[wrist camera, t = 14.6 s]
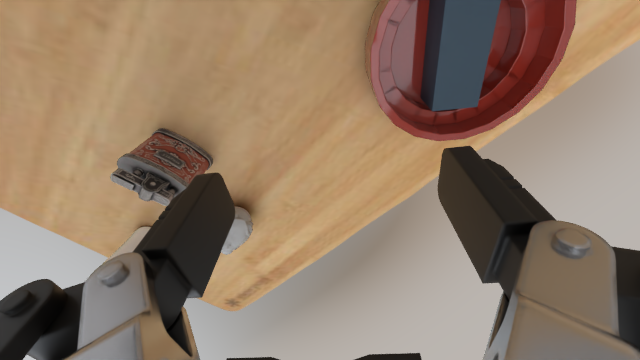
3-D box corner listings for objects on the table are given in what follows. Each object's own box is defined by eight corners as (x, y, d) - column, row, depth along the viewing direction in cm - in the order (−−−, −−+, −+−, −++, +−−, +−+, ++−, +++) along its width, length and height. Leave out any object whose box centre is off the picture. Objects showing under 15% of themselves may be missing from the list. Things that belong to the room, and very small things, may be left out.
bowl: (362, -44, 24) (369, -54, 19) (561, -76, 22) (619, -95, 18) (366, 126, 33) (371, 147, 29) (506, 113, 32) (535, 132, 27)
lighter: (216, 156, 37) (183, 202, 28) (207, 172, 38) (172, 220, 30) (159, 122, 34) (104, 162, 26) (151, 141, 36) (97, 184, 28)
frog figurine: (210, 212, 43) (191, 245, 37) (236, 189, 40) (220, 222, 34) (240, 232, 45) (226, 267, 39) (266, 212, 42) (256, 246, 36)
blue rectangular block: (430, -8, 25) (446, -9, 21) (479, -15, 24) (505, -18, 21) (420, 98, 30) (431, 111, 27) (460, 93, 30) (477, 107, 26)
